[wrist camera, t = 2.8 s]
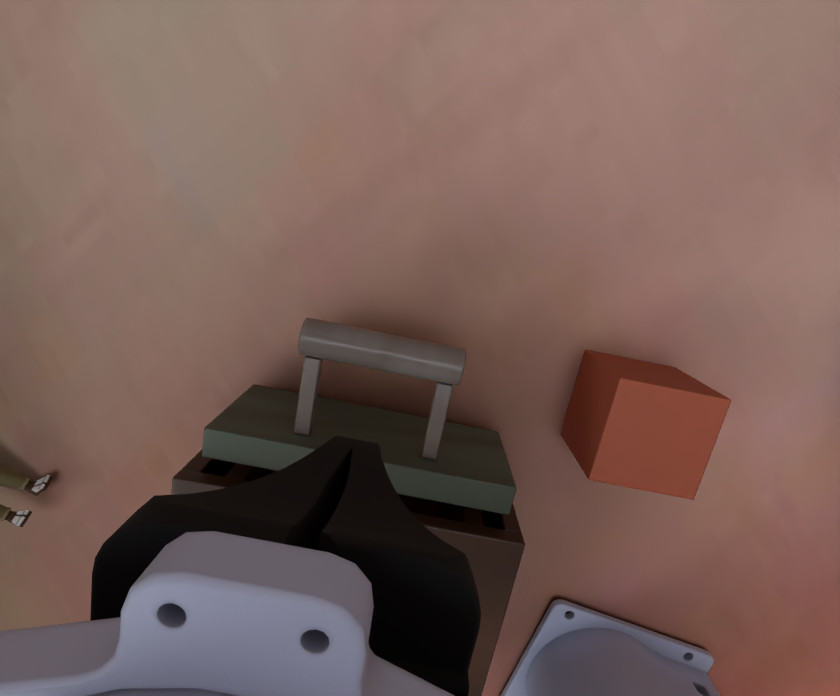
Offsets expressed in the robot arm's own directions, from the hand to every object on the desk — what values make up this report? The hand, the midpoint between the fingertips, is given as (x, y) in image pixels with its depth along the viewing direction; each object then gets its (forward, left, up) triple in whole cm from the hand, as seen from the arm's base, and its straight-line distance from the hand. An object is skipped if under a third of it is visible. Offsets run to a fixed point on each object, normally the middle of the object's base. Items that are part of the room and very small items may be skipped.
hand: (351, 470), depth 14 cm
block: (-11, -3, -10) cm, 15 cm away
